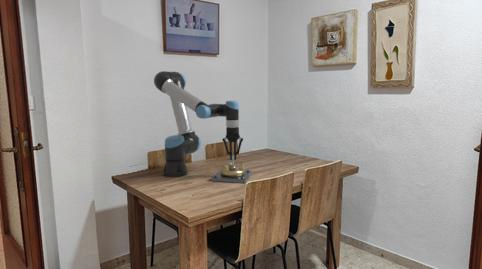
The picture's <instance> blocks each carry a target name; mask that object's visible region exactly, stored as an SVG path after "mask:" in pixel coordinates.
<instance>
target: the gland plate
mask: <svg viewBox="0 0 482 269" xmlns="http://www.w3.org/2000/svg"><path fill="white" fill-rule="evenodd" d="M252 175H253V170H244V175H242V176H238V177H226V176H222V175H221V169H220V170H219V171H217V172H216V173H215V174H214V175H212V177H210V181H211V182H221V183H233V184H247V182H248V180H249V179H250V178H251V176H252Z"/></svg>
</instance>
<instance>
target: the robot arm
mask: <svg viewBox="0 0 482 269" xmlns="http://www.w3.org/2000/svg"><path fill="white" fill-rule="evenodd" d="M153 83H154V86H155V88H156V89H157V90H158V91H160V92H161V93H163V94H166V95H167V96H169V99H170V101H171V102H170V103H171V107H172V110H173V115H174V120H175V123H176V126H177V131H178V132H177V134H176V135H169V136H167V137H165V140H164V155H165V156H164V159H165V160H164V161H165V162H164V166H163V170H162V174H163V176H164V175H165V176H164V177H169V178H170V177H171V178H173V177H174V178H175V177H182V176H186V175H188V173H189V172H188V170H189V169H188V167H187V165H186V161H185V158H186V157H185V156H186V155H188V154H194V153H195V152H197V151H198V150H199V149H200V147H201V144H202V143H201V139H200V137H199V135H197V134H196V132H195V130H194V129H192V126H191V122H190V118H189V113H188V109H190V110H191V111H193V112H195V115H196V117H197V118H199V119H203V120H204V119H210V118H217V117H225V126H226V129H225V130H226V131H225V132H226V133H225V137H223V138H222V142H223V143H224V147H225V151H226V154H227V155H229V160H230V161H231V162H232V166H235V161H236V160H237V155H239V154H240V151H241V146H242V143H243V141H244V138H243V137H241V135H240V127H239V126H240V124H239V123H240V119H239V118H240V117H239V116H240V115H239V113H240V112H239V111H240V110H239V109H240V106H239V102H238V100H226V101H225V103H211V104H210V103H209V104H208V103H205V101H202V100H201V99H199V98H198V97H196V96H195V95H193V94H192V93H190V92H189V91H188V90H185V88H186V84H187V81H186V77H185V75H183V74H182V73H181V72H177V71H166V70H165V71H159V72H158V73H156V74H155V76H154V78H153ZM187 108H188V109H187ZM238 140H239V142H238ZM227 141H228V142H229V148H228V144H227ZM237 142H238V146H237Z"/></svg>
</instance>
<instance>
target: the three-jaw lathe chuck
mask: <svg viewBox="0 0 482 269" xmlns="http://www.w3.org/2000/svg"><path fill="white" fill-rule="evenodd" d="M220 170H221V175H222V176H226V177H238V176H242V175H244V171H245V164H244V163H241V162H240V163H239V164H238V166H236V165H234V166H232V160H230V161H227V162H226V164H224V165H222V168H221V169H220Z"/></svg>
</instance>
